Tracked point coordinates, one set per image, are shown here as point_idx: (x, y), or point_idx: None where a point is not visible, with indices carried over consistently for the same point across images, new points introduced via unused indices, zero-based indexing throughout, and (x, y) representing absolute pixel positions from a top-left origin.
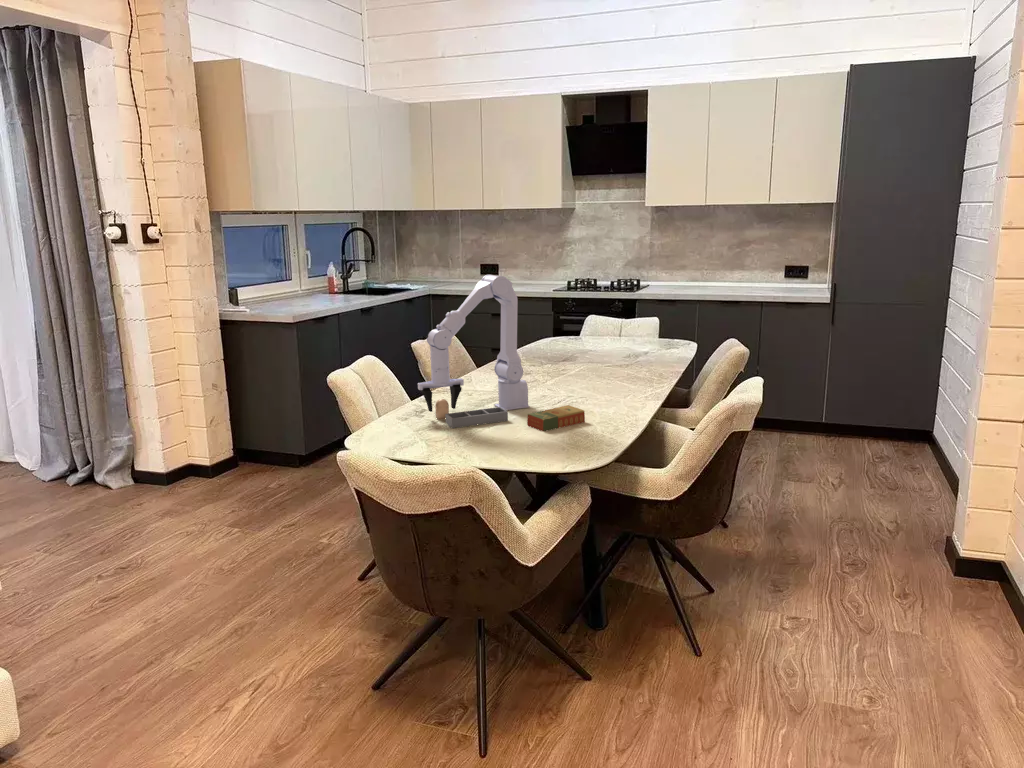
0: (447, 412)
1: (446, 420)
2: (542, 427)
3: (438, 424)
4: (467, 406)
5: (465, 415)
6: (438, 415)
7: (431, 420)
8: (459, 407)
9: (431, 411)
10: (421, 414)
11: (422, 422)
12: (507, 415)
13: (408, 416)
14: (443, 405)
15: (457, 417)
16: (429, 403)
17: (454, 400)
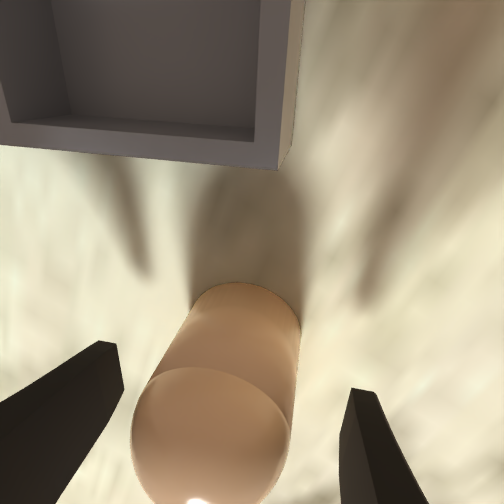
0: (194, 322)
1: (291, 112)
2: None
3: (382, 147)
4: None
5: (23, 52)
6: (289, 333)
7: (366, 315)
8: None
9: (361, 390)
10: None
11: (478, 308)
12: None
13: (458, 490)
14: (210, 389)
15: (137, 122)
16: (416, 495)
17: (33, 408)
